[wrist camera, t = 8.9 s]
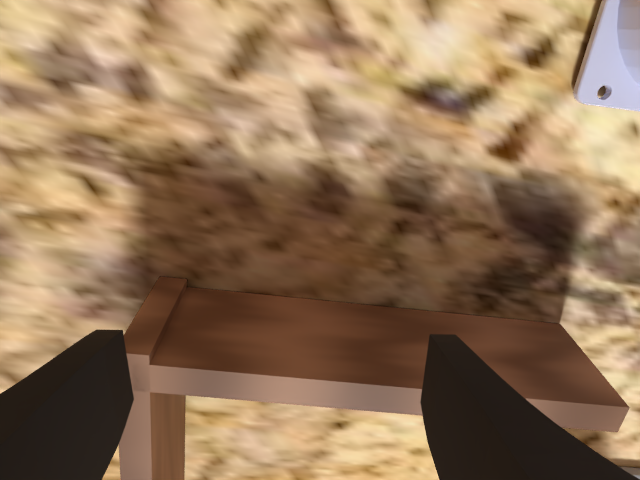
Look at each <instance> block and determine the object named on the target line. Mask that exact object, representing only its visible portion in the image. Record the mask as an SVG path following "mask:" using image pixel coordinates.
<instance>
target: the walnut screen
mask: <svg viewBox="0 0 640 480" xmlns="http://www.w3.org/2000/svg"><path fill="white" fill-rule="evenodd" d="M430 334H455V335H457V336H458V337H459V338H460V339H461V340H462V341H463V342H464V343H465V344H466V345H467V346H468V347H469V348H470V349H471V350H473V351H474V352H475V353H476V354H477V355H478V356H479V357H480V358H481V359H482V360H483V361H484V362H485V363H486V364H487V365H488V366H489V367H490V368H491V369H493V370H494V371H495V372H496V373H497V374H498V375H499V376H500V377H501V378H502V379H503V380H504V381H506V382H507V383H508V384H509V385H510V386H511V387H512V388H513V389H515V390H516V391H517V392H518V393H519V394H520V395H521V396H523V397H524V398H525V399H526V400H527V401H529V402H530V403H531V404H532V405H533V406H535V407H536V408H537V409H538V410H540V411H541V412H542V413H543V414H545V415H546V416H547V417H548V418H550V419H551V420H552V421H553V422H555V423H556V424H557V425H559V426H560V427H562V428H574V429H586V430H597V431H609V432H618V431H619V428H620V426H621V424H622V422H623V420H624V418H625V416H626V414H627V412H628V410H629V406H628V405H627V404H626V403H625V402H624V400H623V399H622V398H621V397H620V396H619V394H618V393H617V392H616V391H615V389H614V388H613V387H612V386H611V385H610V383H609V382H608V381H607V380H606V379H605V377H604V376H603V375H602V374H601V373H600V371H599V370H598V369H597V368H596V367H595V365H594V364H593V363H592V362H591V360H590V359H589V358H588V357H587V356H586V354H585V353H584V352H583V351H582V350H581V348H580V347H579V346H578V345H577V344H576V342H575V341H574V340H573V339H572V338H571V336H570V335H569V334H568V333H567V332H566V330H565V329H564V328H563V327H562V325H561V324H557V323H546V322H536V321H526V320H516V319H506V318H496V317H486V316H476V315H466V314H456V313H445V312H435V311H425V310H415V309H405V308H395V307H385V306H375V305H365V304H355V303H344V302H334V301H324V300H314V299H304V298H294V297H284V296H274V295H264V294H254V293H243V292H233V291H223V290H213V289H203V288H193V287H187V279H181V278H171V277H161V276H160V277H159V279H158V280H157V282H156V283H155V285H154V287H153V288H152V290H151V292H150V293H149V295H148V297H147V298H146V300H145V301H144V303H143V305H142V306H141V308H140V310H139V311H138V313H137V315H136V316H135V318H134V319H133V321H132V323H131V324H130V326H129V328H128V329H127V331H126V333H125V334H124V342H125V348H126V354H127V360H128V366H129V372H130V378H131V384H132V390H133V396H134V401H133V404H132V407H131V410H130V413H129V417H128V420H127V423H126V426H125V429H124V431H123V434H122V437H121V440H120V442H119V457H120V474H121V480H184V457H185V395H189V396H201V397H212V398H224V399H236V400H247V401H259V402H271V403H282V404H294V405H306V406H317V407H329V408H341V409H352V410H364V411H376V412H387V413H399V414H411V415H422V416H423V414H422V409H421V403H420V401H421V394H422V386H423V379H424V372H425V364H426V357H427V350H428V343H429V335H430Z"/></svg>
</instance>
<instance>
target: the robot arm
mask: <svg viewBox="0 0 640 480" xmlns="http://www.w3.org/2000/svg"><path fill="white" fill-rule="evenodd" d="M602 86H605V88H606V92H605V94H604V95H603V96H602V97H601V98H598V96H597V92H598V90H599V88H601V87H602ZM573 94H574V98H575V99H576V100H577V101H578V102H580V103H583V104H587V105H594V106H602V107H610V108H618V109H626V110H634V111H640V0H602V2H601V5H600V8H599V11H598V14H597V17H596V21H595V24H594V27H593V30H592V33H591V36H590V39H589V43H588V46H587V49H586V52H585V55H584V58H583V62H582V65H581V68H580V71H579V74H578V77H577V80H576V84H575V87H574V92H573ZM133 401H134V396H133V390H132V384H131V378H130V372H129V366H128V360H127V354H126V348H125V342H124V336H123V330H95V331H94V332H92V333H90V334H89V335H87V336H85V337H84V338H82V339H81V340H79V341H78V342H77V343H75V344H74V345H72V346H71V347H69V348H68V349H66V350H65V351H63V352H62V353H61V354H59V355H58V356H56V357H55V358H53V359H52V360H51V361H49V362H48V363H46V364H45V365H43V366H42V367H40V368H39V369H37V370H36V371H34V372H33V373H32V374H30V375H29V376H27V377H26V378H24V379H23V380H21V381H20V382H18V383H17V384H15V385H14V386H12V387H10V388H9V389H7V390H6V391H4V392H3V393H1V394H0V480H102V478H103V476H104V474H105V472H106V470H107V468H108V465H109V463H110V461H111V459H112V457H113V455H114V453H115V451H116V449H117V446H118V444H119V442H120V440H121V437H122V434H123V431H124V429H125V426H126V423H127V420H128V417H129V413H130V410H131V407H132V404H133ZM420 403H421V409H422V414H423V420H424V425H425V430H426V435H427V440H428V444H429V448H430V451H431V454H432V457H433V460H434V464H435V467H436V470H437V473H438V476H439V479H440V480H640V479H638V478H637V477H635V476H633V475H632V474H630V473H628V472H627V471H625V470H623V469H622V468H620V467H618V466H617V465H615V464H614V463H612V462H610V461H609V460H607V459H606V458H604V457H603V456H601V455H600V454H598V453H597V452H595V451H594V450H592V449H591V448H589V447H588V446H587V445H585V444H584V443H582V442H581V441H579V440H578V439H577V438H575V437H574V436H572V435H571V434H569V433H568V432H567V431H565V430H564V429H563V428H561V427H560V426H559V425H557V424H556V423H555V422H553V421H552V420H551V419H550V418H548V417H547V416H546V415H545V414H543V413H542V412H541V411H540V410H538V409H537V408H536V407H535V406H533V405H532V404H531V403H530V402H529V401H527V400H526V399H525V398H524V397H523V396H521V395H520V394H519V393H518V392H517V391H516V390H515V389H513V388H512V387H511V386H510V385H509V384H508V383H507V382H506V381H504V380H503V379H502V378H501V377H500V376H499V375H498V374H497V373H496V372H495V371H494V370H493V369H491V368H490V367H489V366H488V365H487V364H486V363H485V362H484V361H483V360H482V359H481V358H480V357H479V356H478V355H477V354H476V353H475V352H474V351H473V350H471V349H470V348H469V347H468V346H467V345H466V344H465V343H464V342H463V341H462V340H461V339H460V338H459V337H458V336H457V335H455V334H430V335H429V343H428V350H427V357H426V364H425V372H424V379H423V386H422V394H421V401H420Z"/></svg>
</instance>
